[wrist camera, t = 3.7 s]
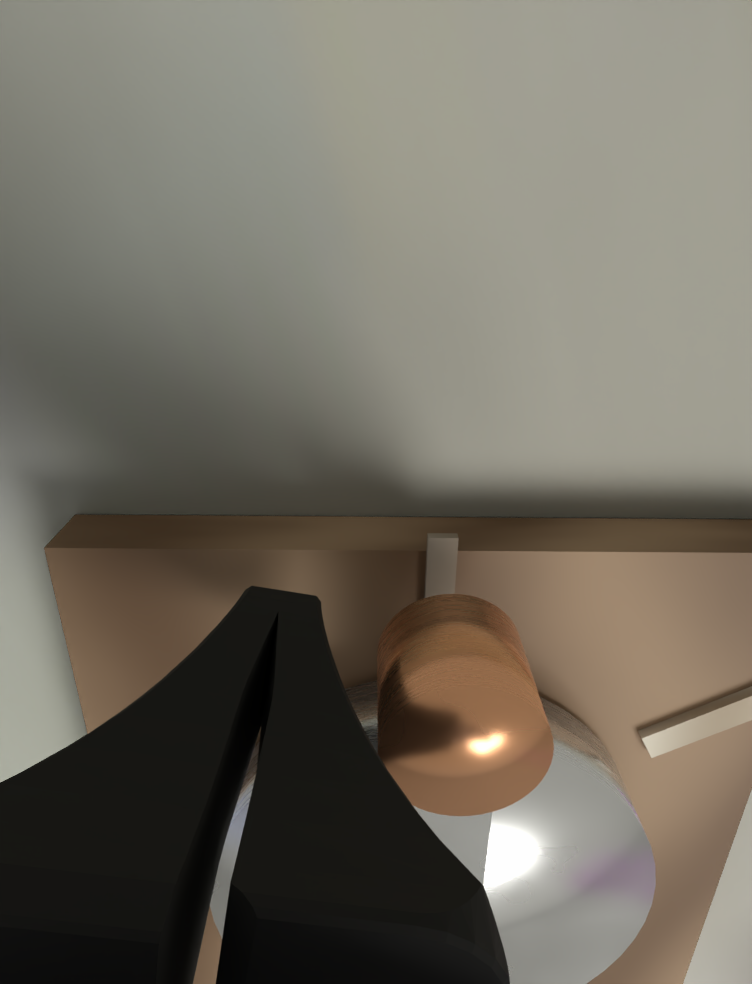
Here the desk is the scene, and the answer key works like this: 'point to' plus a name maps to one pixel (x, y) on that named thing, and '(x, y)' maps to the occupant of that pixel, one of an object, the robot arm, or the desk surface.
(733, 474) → the desk surface
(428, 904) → the robot arm
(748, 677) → the dial plate
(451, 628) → the dial
